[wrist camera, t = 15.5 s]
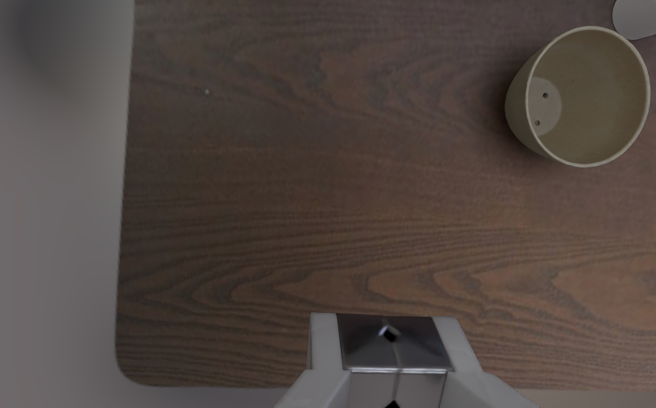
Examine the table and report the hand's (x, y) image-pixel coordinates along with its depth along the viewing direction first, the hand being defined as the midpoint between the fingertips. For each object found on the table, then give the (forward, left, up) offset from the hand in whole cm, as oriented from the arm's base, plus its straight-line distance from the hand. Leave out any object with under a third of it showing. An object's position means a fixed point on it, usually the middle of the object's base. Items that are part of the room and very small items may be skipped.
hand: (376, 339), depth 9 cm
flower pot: (+22, +6, -29) cm, 36 cm away
